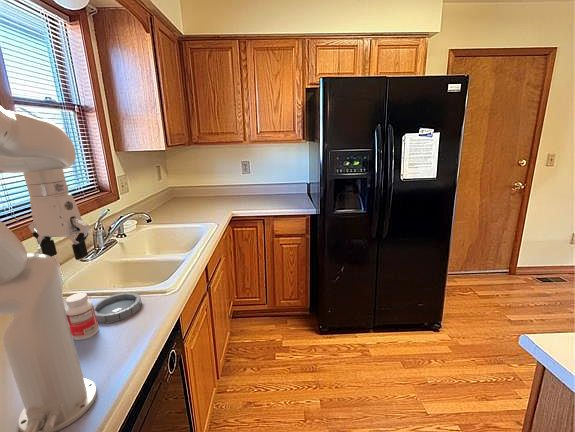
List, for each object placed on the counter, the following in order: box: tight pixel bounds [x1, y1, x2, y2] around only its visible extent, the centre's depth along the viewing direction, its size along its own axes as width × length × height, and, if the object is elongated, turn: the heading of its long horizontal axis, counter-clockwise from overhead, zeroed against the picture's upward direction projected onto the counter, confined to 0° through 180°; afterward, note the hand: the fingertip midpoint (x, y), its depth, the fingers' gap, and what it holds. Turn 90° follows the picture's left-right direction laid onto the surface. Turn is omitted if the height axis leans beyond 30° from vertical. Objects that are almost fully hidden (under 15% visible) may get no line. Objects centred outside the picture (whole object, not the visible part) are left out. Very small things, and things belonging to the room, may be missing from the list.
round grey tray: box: [93, 292, 142, 324], centre depth 97 cm, size 13×13×2 cm
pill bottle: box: [65, 292, 100, 341], centre depth 85 cm, size 6×6×11 cm
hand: (66, 257), depth 81 cm, fingers open, 9 cm apart
